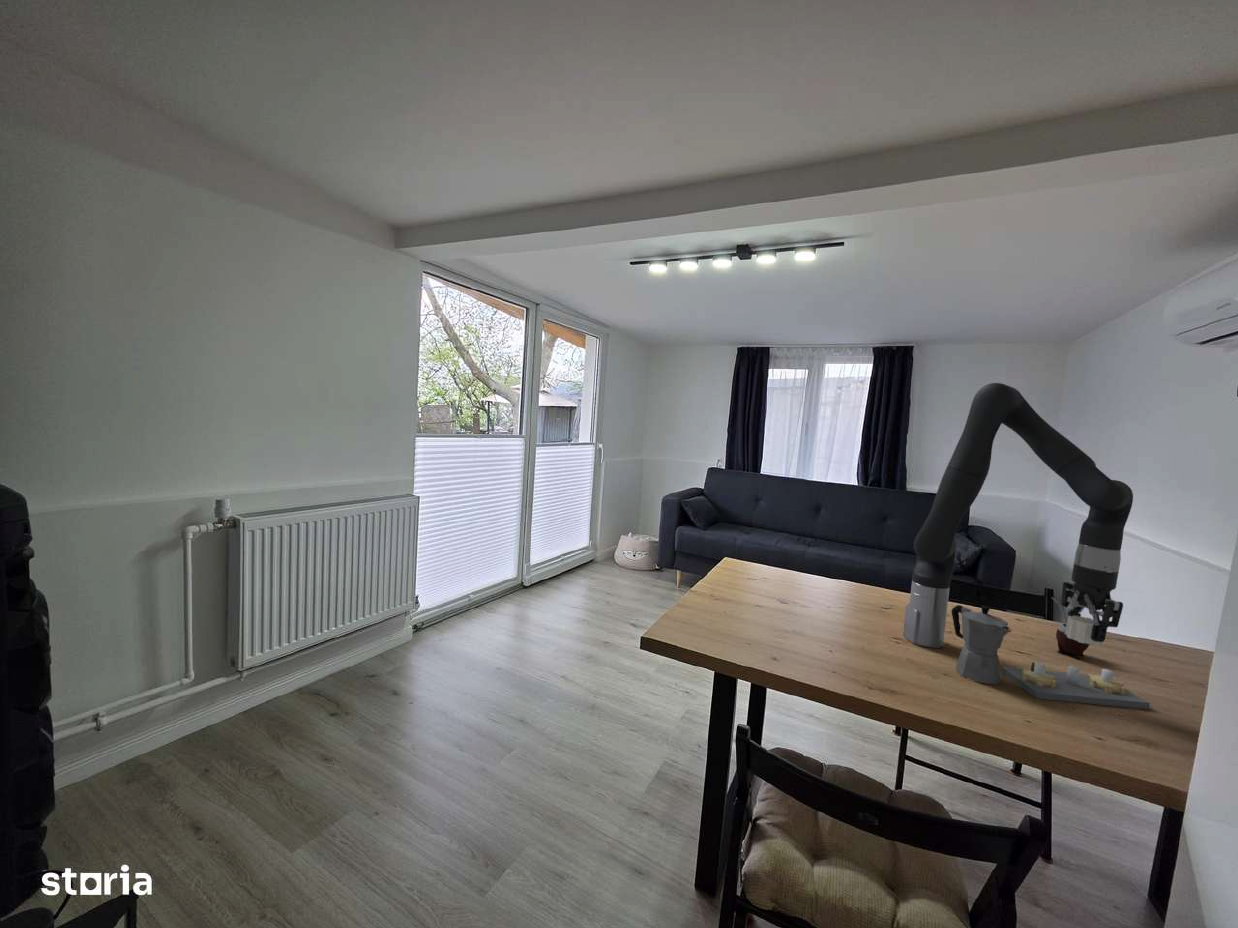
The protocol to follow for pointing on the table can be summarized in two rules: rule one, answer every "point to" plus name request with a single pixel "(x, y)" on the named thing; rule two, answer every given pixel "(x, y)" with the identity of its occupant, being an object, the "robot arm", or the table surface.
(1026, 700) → the table surface
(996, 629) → the coffeepot
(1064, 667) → the table surface
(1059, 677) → the gear board
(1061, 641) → the mate gourd
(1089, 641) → the ivory gear
